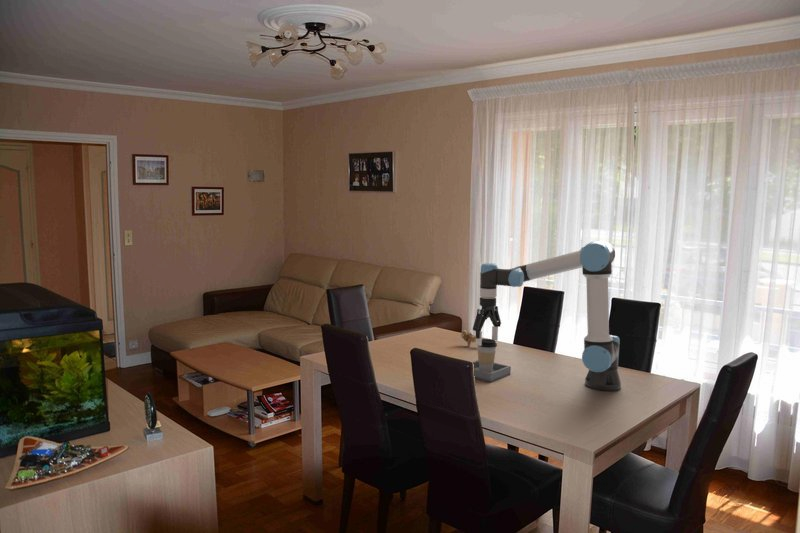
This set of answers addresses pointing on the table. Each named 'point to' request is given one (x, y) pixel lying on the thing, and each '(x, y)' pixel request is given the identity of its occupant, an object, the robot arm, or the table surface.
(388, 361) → the table surface
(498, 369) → the bin
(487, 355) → the coffee cup
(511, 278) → the robot arm
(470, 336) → the lion figurine
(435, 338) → the table surface
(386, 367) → the table surface
